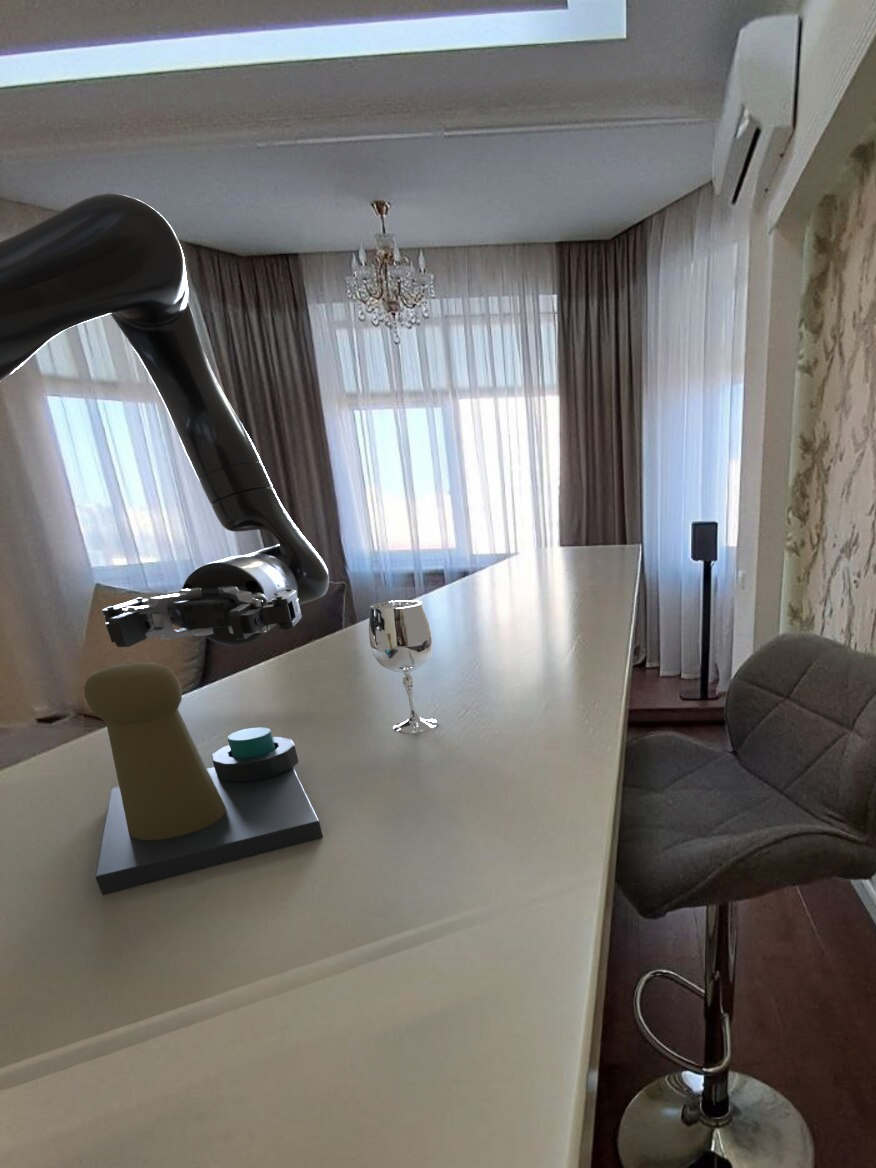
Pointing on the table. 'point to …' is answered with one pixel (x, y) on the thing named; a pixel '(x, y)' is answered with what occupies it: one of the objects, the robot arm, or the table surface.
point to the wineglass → (402, 649)
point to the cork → (153, 751)
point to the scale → (216, 823)
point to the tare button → (251, 742)
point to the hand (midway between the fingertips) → (177, 630)
